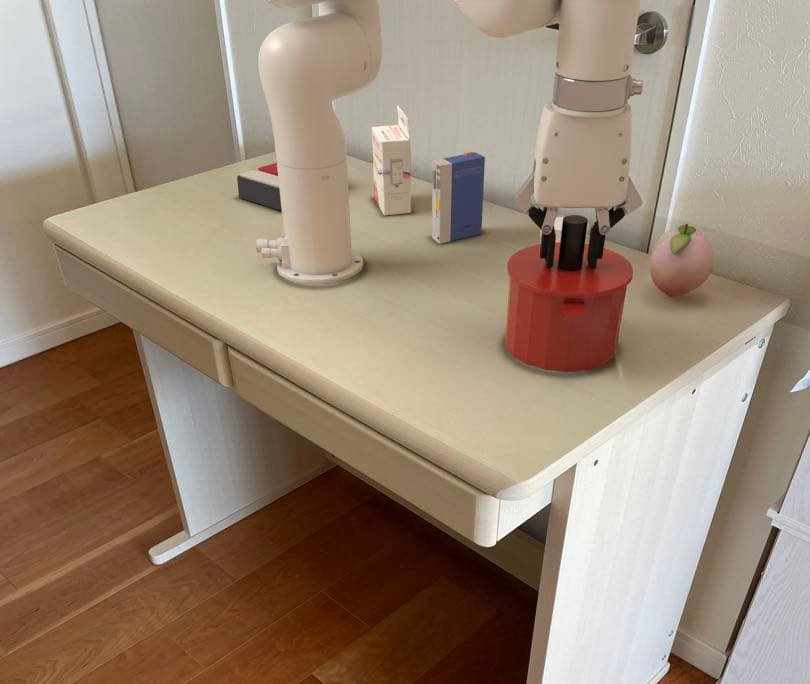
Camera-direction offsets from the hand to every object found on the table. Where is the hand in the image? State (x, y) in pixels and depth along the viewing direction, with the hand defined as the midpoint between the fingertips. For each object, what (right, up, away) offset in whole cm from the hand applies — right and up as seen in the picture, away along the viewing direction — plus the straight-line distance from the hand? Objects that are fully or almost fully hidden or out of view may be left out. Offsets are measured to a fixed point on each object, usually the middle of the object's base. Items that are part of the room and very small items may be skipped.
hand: (570, 262), depth 100 cm
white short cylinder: (+3, +7, +25) cm, 26 cm away
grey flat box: (-39, +28, +51) cm, 70 cm away
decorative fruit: (+18, +1, +18) cm, 25 cm away
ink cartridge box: (-22, +24, +45) cm, 56 cm away
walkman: (-11, +15, +35) cm, 40 cm away
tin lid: (0, -1, +1) cm, 1 cm away
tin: (0, -8, +7) cm, 11 cm away
